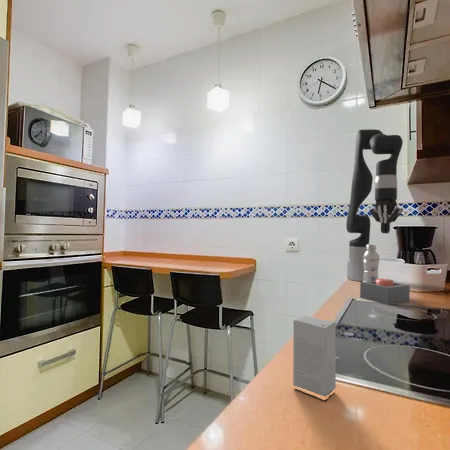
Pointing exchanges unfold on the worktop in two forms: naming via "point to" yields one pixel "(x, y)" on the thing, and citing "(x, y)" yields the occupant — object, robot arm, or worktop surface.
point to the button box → (385, 292)
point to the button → (384, 282)
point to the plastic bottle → (370, 263)
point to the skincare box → (314, 355)
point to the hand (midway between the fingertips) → (385, 233)
